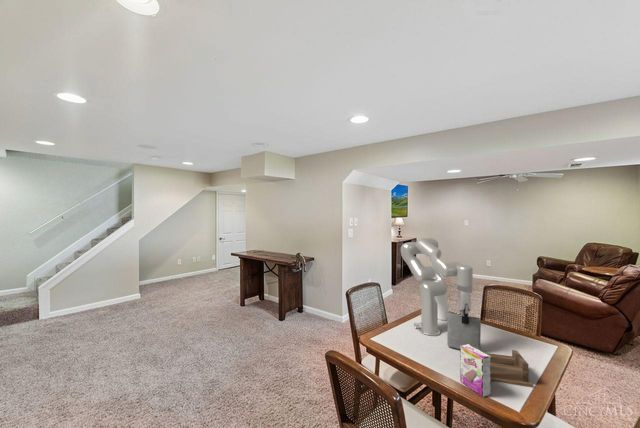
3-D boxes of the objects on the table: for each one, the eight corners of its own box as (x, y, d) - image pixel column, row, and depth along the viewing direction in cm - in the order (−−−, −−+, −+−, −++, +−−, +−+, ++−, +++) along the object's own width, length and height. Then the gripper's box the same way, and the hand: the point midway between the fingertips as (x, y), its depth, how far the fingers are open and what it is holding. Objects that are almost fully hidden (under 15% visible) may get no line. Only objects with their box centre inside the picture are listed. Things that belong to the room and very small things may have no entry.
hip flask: (480, 349, 144) (480, 313, 144) (480, 353, 141) (481, 316, 140) (447, 343, 151) (447, 308, 151) (447, 346, 148) (447, 310, 147)
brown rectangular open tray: (532, 387, 115) (532, 366, 115) (470, 377, 122) (470, 358, 122) (518, 367, 129) (518, 349, 129) (463, 360, 136) (463, 342, 136)
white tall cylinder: (449, 321, 184) (449, 278, 184) (434, 320, 187) (434, 277, 187) (447, 316, 193) (446, 275, 193) (432, 315, 196) (432, 274, 196)
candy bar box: (459, 381, 119) (459, 345, 119) (467, 379, 121) (467, 343, 121) (482, 398, 108) (482, 358, 108) (491, 395, 110) (491, 355, 110)
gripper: (453, 283, 154) (453, 314, 155) (460, 292, 138) (459, 327, 139) (468, 284, 152) (467, 316, 153) (476, 293, 136) (475, 329, 136)
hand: (464, 321), depth 146 cm, fingers closed on hip flask, 4 cm apart
